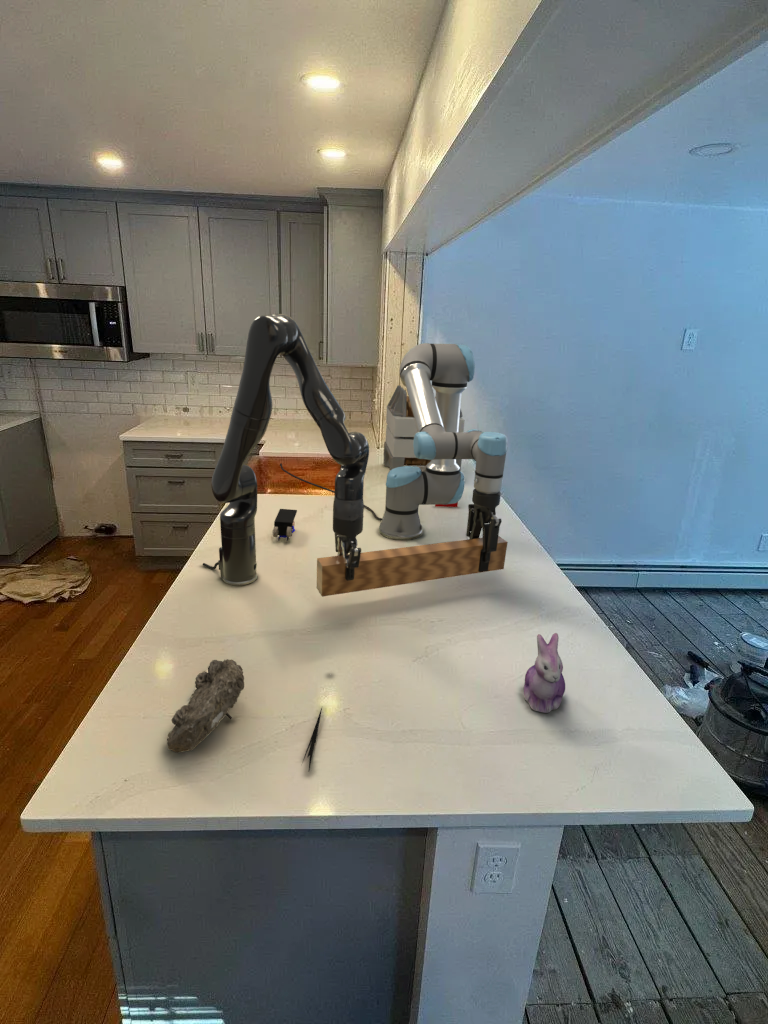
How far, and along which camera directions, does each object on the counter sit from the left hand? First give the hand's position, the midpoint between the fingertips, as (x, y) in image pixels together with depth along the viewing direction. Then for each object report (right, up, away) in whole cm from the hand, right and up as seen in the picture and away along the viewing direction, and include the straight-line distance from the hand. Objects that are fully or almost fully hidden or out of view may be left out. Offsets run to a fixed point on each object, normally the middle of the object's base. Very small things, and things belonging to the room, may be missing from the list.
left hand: (346, 574), depth 146 cm
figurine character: (-24, +8, +48) cm, 54 cm away
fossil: (-23, -23, -38) cm, 50 cm away
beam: (+18, -2, +9) cm, 20 cm away
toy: (+34, +23, +96) cm, 104 cm away
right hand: (+37, +1, +16) cm, 40 cm away
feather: (-3, -24, -37) cm, 44 cm away
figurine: (+43, -23, -29) cm, 56 cm away
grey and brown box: (+27, +35, +129) cm, 136 cm away
